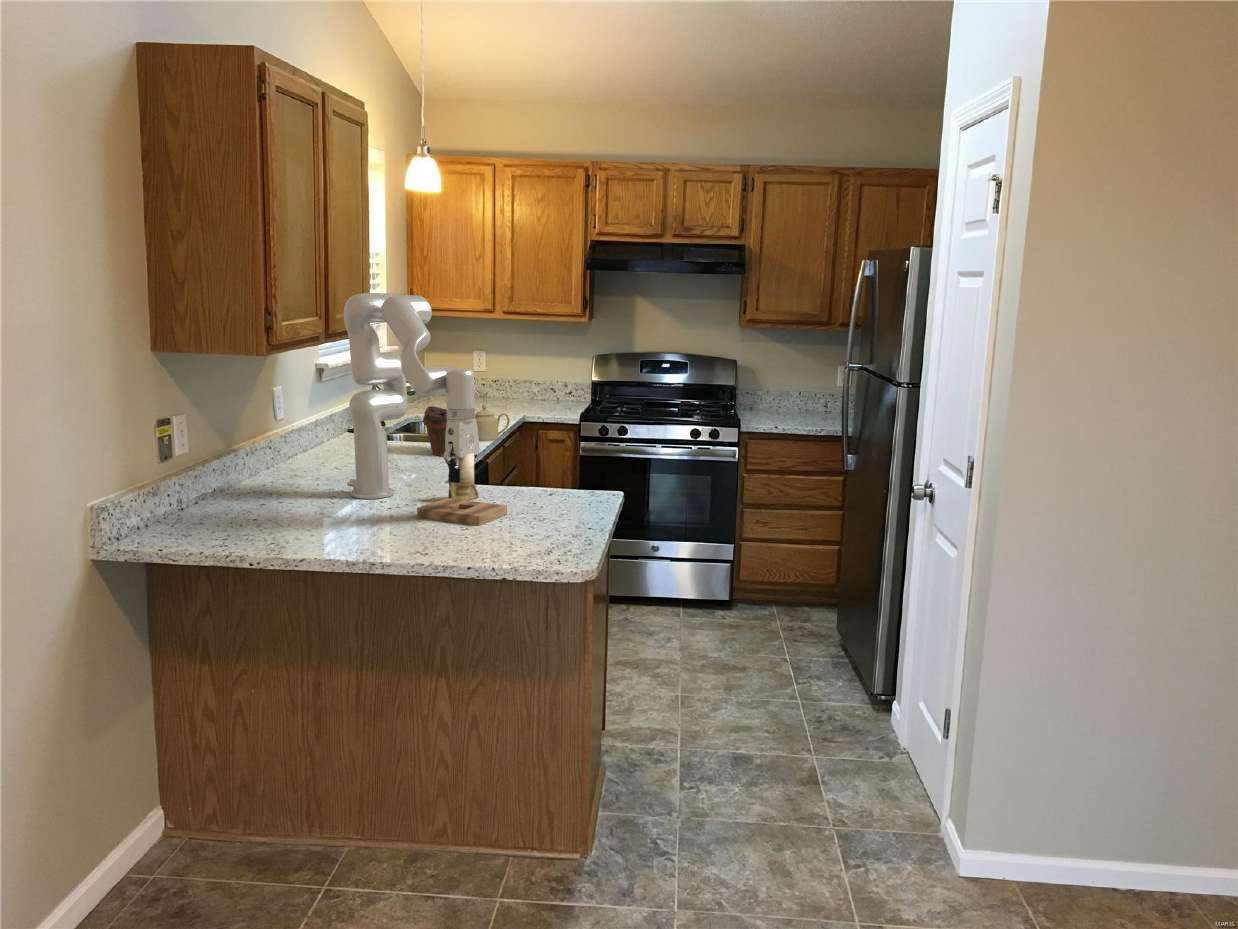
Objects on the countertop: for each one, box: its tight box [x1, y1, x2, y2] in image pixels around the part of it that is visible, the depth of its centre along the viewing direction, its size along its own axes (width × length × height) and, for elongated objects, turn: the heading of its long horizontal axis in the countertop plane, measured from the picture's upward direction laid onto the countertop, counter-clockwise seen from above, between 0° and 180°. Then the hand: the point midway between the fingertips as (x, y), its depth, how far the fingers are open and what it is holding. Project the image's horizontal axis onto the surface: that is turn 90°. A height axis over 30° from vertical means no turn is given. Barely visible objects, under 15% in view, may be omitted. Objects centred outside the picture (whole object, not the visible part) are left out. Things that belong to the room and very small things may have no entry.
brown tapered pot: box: [422, 405, 447, 457], centre depth 353 cm, size 18×20×18 cm
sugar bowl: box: [475, 403, 511, 442], centre depth 391 cm, size 15×11×15 cm
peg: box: [451, 453, 475, 496], centre depth 255 cm, size 6×6×12 cm
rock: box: [447, 474, 480, 501], centre depth 276 cm, size 11×9×10 cm
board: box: [416, 497, 508, 526], centre depth 257 cm, size 20×14×3 cm
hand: (462, 479), depth 255 cm, fingers closed on peg, 6 cm apart
